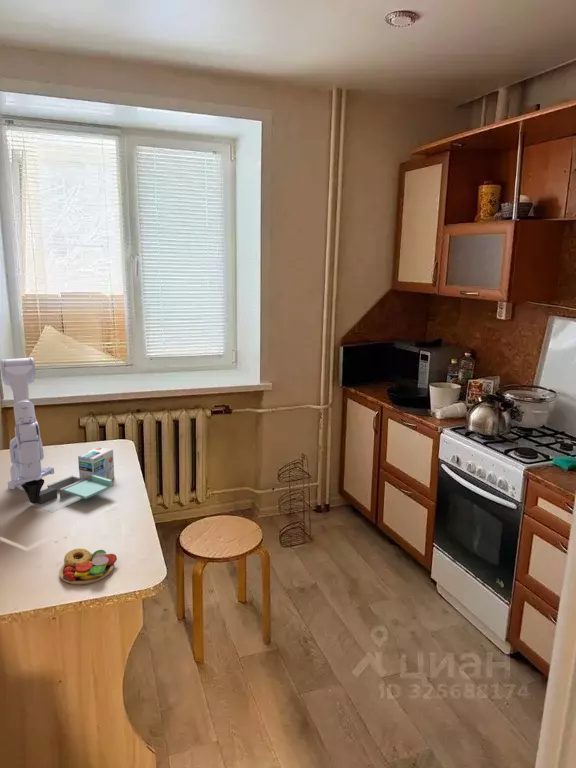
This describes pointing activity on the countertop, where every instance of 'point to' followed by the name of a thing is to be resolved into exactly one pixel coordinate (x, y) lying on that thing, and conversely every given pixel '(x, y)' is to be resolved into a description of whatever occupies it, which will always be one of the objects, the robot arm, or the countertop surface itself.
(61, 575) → the toy food set
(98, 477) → the cover
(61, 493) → the board
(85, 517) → the countertop surface
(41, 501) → the grey rectangular prism
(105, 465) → the light bulb box
